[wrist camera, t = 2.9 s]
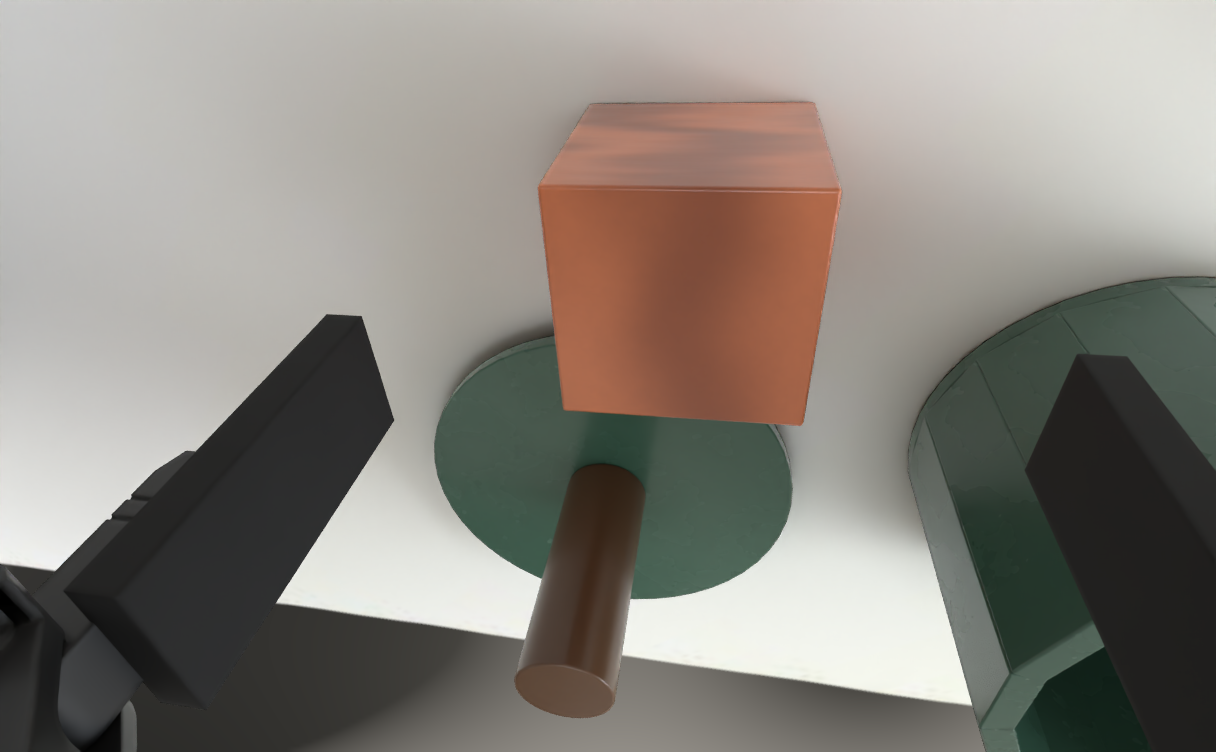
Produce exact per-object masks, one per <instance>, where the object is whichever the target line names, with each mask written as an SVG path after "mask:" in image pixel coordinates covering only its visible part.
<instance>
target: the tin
mask: <svg viewBox="0 0 1216 752" xmlns="http://www.w3.org/2000/svg"><path fill="white" fill-rule="evenodd" d="M1077 354H1093V355H1112V356H1127V357H1128V358H1129V359H1130V361H1131V362H1132V363H1133V364H1134V366H1135V367H1136V368H1137V370H1138V371H1139V372H1140V373H1141V375H1142V376H1143V377H1144V379H1145V380H1146V381H1147V382H1148V384H1149V385H1150V386H1151V388H1152V389H1153V390H1154V392H1155V393H1156V394H1157V395H1158V397H1159V398H1160V399H1161V401H1162V402H1163V403H1164V404H1165V406H1166V407H1167V408H1168V410H1169V411H1170V412H1171V414H1172V415H1173V416H1174V417H1175V419H1176V420H1177V421H1178V423H1179V424H1180V425H1181V426H1182V428H1183V429H1184V430H1185V432H1186V433H1187V434H1188V435H1189V437H1190V438H1191V439H1192V441H1193V442H1194V443H1195V445H1196V446H1197V447H1198V448H1199V450H1200V451H1201V452H1202V454H1203V455H1204V456H1205V457H1206V459H1207V460H1208V461H1209V463H1210V464H1211V465H1212V466H1213V468H1214V469H1215V470H1216V278H1208V277H1188V278H1165V279H1156V280H1148V281H1139V282H1133V283H1128V284H1123V285H1119V286H1114V287H1109V288H1105V289H1100V290H1097V291H1094V292H1091V293H1087V294H1084V295H1081V296H1077V297H1074V298H1071V299H1068V300H1065V301H1063V302H1061V303H1058V304H1056V305H1053V306H1051V307H1048V308H1046V309H1043V310H1041V311H1038V312H1036V313H1034V314H1032V315H1030V316H1028V317H1027V318H1025V319H1023V320H1021V321H1019V322H1017V323H1015V324H1013V325H1011V326H1009V327H1008V328H1006V329H1004V330H1003V331H1001V332H1000V333H998V334H997V335H995V336H994V337H992V338H990V339H989V340H987V341H986V342H984V343H983V344H982V345H980V346H979V347H978V348H977V349H975V350H974V351H973V352H972V353H970V354H969V355H968V356H967V357H965V358H964V359H963V360H962V361H961V362H960V363H959V364H958V365H957V366H956V367H955V368H954V369H953V370H952V371H951V372H950V373H949V374H948V375H947V376H946V377H945V378H944V379H943V380H942V381H941V383H940V384H939V385H938V387H937V388H936V389H935V390H934V392H933V393H932V394H931V395H930V397H929V399H928V400H927V402H926V404H925V406H924V407H923V409H922V411H921V412H920V414H919V417H918V419H917V422H916V424H915V427H914V429H913V432H912V436H911V441H910V446H909V460H908V467H909V468H908V474H909V477H910V481H911V484H912V488H913V492H914V495H915V499H916V503H917V506H918V510H919V513H920V517H921V521H922V524H923V528H924V532H925V535H926V539H927V542H928V546H929V550H930V553H931V557H932V561H933V564H934V568H935V571H936V575H937V579H938V582H939V586H940V590H941V593H942V597H943V600H944V604H945V608H946V611H947V615H948V619H949V622H950V626H951V629H952V633H953V637H954V640H955V644H956V648H957V651H958V655H959V658H960V662H961V666H962V669H963V673H964V677H965V680H966V684H967V687H968V691H969V695H970V698H971V702H972V706H973V709H974V713H975V716H976V720H977V723H978V727H979V731H980V734H981V737H982V741H983V744H984V748H985V751H986V752H1152V749H1151V747H1150V745H1149V743H1148V741H1147V738H1146V736H1145V734H1144V732H1143V730H1142V727H1141V725H1140V723H1139V721H1138V719H1137V716H1136V714H1135V712H1134V710H1133V708H1132V705H1131V703H1130V701H1129V699H1128V697H1127V694H1126V692H1125V690H1124V688H1123V686H1122V683H1121V681H1120V679H1119V677H1118V675H1117V673H1116V670H1115V668H1114V666H1113V664H1112V662H1111V659H1110V657H1109V655H1108V653H1107V651H1106V648H1105V646H1104V644H1103V642H1102V640H1101V637H1100V635H1099V633H1098V631H1097V629H1096V626H1095V624H1094V622H1093V620H1092V618H1091V615H1090V613H1089V611H1088V609H1087V607H1086V604H1085V602H1084V600H1083V598H1082V596H1081V593H1080V591H1079V589H1078V587H1077V585H1076V583H1075V580H1074V578H1073V576H1072V574H1071V572H1070V569H1069V567H1068V565H1067V563H1066V561H1065V558H1064V556H1063V554H1062V552H1061V550H1060V547H1059V545H1058V543H1057V541H1056V539H1055V536H1054V534H1053V532H1052V530H1051V528H1050V525H1049V523H1048V521H1047V519H1046V517H1045V514H1044V512H1043V510H1042V508H1041V506H1040V503H1039V501H1038V499H1037V497H1036V495H1035V493H1034V490H1033V488H1032V486H1031V484H1030V482H1029V479H1028V477H1027V475H1026V473H1025V471H1024V470H1025V468H1026V466H1027V463H1028V461H1029V459H1030V457H1031V454H1032V452H1033V450H1034V448H1035V446H1036V443H1037V441H1038V439H1039V437H1040V435H1041V432H1042V430H1043V428H1044V426H1045V424H1046V421H1047V419H1048V417H1049V415H1050V412H1051V410H1052V408H1053V406H1054V404H1055V401H1056V399H1057V397H1058V395H1059V393H1060V390H1061V388H1062V386H1063V384H1064V381H1065V379H1066V377H1067V375H1068V373H1069V370H1070V368H1071V366H1072V364H1073V362H1074V359H1075V357H1076V355H1077Z"/></svg>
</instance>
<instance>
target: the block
mask: <svg viewBox="0 0 1216 752" xmlns="http://www.w3.org/2000/svg"><path fill="white" fill-rule="evenodd" d="M538 196H539V205H540V214H541V222H542V231H543V240H544V248H545V257H546V266H547V274H548V283H549V292H550V300H551V309H552V318H553V326H554V335H555V344H556V352H557V361H558V370H559V378H560V387H561V396H562V404H563V409H564V410H566V411H580V412H595V413H611V414H626V415H641V416H656V417H672V418H687V419H702V420H718V421H733V422H748V423H764V424H779V425H794V426H801V425H802V424H803V422H804V416H805V411H806V405H807V399H808V393H809V387H810V381H811V375H812V369H813V363H814V357H815V351H816V345H817V339H818V333H819V327H820V321H821V316H822V310H823V304H824V298H825V292H826V286H827V280H828V274H829V268H830V262H831V256H832V250H833V244H834V238H835V232H836V226H837V221H838V215H839V209H840V203H841V197H842V189H841V186H840V183H839V180H838V176H837V173H836V170H835V167H834V164H833V160H832V157H831V154H830V151H829V147H828V144H827V141H826V138H825V135H824V131H823V128H822V125H821V122H820V119H819V115H818V112H817V109H816V106H815V103H813V102H787V103H641V104H590V105H589V106H588V108H587V109H586V111H585V112H584V114H583V116H582V117H581V119H580V120H579V122H578V123H577V125H576V127H575V128H574V130H573V131H572V133H571V134H570V136H569V138H568V139H567V141H566V142H565V144H564V146H563V147H562V149H561V150H560V152H559V153H558V155H557V157H556V158H555V160H554V161H553V163H552V164H551V166H550V168H549V169H548V171H547V172H546V174H545V176H544V177H543V179H542V180H541V182H540V183H539V185H538Z"/></svg>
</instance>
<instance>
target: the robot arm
mask: <svg viewBox="0 0 1216 752" xmlns="http://www.w3.org/2000/svg"><path fill="white" fill-rule="evenodd" d="M393 422H394V418H393V415H392V412H391V408H390V405H389V402H388V399H387V396H386V392H385V389H384V386H383V383H382V380H381V376H380V373H379V370H378V367H377V364H376V360H375V357H374V354H373V351H372V348H371V344H370V341H369V338H368V335H367V332H366V328H365V325H364V322H363V319H362V316H349V315H329V314H327V315H326V316H325V317H324V318H323V319H322V320H321V321H320V322H319V323H318V324H317V325H316V326H315V327H314V328H313V329H312V330H311V332H310V333H309V334H308V335H307V336H306V337H305V338H304V339H303V340H302V341H301V342H300V343H299V344H298V345H297V346H296V347H295V348H294V349H293V350H292V351H291V352H290V354H289V355H288V356H287V357H286V358H285V359H284V360H283V361H282V362H281V363H280V364H279V365H278V366H277V367H276V368H275V369H274V370H273V371H272V372H271V373H270V374H269V375H268V377H267V378H266V379H265V380H264V381H263V382H262V383H261V384H260V385H259V386H258V387H257V388H256V389H255V390H254V391H253V392H252V393H251V394H250V395H249V396H248V397H247V399H246V400H245V401H244V402H243V403H242V404H241V405H240V406H239V407H238V408H237V409H236V410H235V411H234V412H233V413H232V414H231V415H230V416H229V417H228V418H227V419H226V420H225V422H224V423H223V424H222V425H221V426H220V427H219V428H218V429H217V430H216V431H215V432H214V433H213V434H212V435H211V436H210V437H209V438H208V439H207V440H206V441H205V442H204V444H203V445H202V446H201V447H200V448H199V449H198V450H197V451H196V452H195V451H185V452H184V453H182V454H180V455H179V456H177V457H176V458H174V459H173V460H171V461H169V462H168V463H166V464H165V465H163V466H162V467H160V468H159V469H157V470H155V471H154V472H153V473H152V474H151V475H150V476H149V477H148V478H147V479H146V480H145V481H144V482H143V483H142V484H141V485H140V486H139V487H138V488H137V489H136V490H135V491H134V492H133V493H132V494H131V496H132V497H131V499H130V500H125V502H124V503H123V504H122V505H121V506H120V507H119V508H118V509H117V510H116V511H115V512H114V513H113V514H112V518H111V519H110V520H106V521H105V522H104V523H103V524H102V525H101V526H100V527H99V528H98V529H97V530H96V531H95V532H94V533H93V534H92V535H91V536H90V537H89V538H88V539H87V540H86V541H85V542H84V543H83V544H82V545H81V546H80V547H79V548H78V549H77V550H76V551H75V552H74V553H73V554H72V555H71V556H70V557H69V558H68V559H67V560H66V561H65V562H64V563H63V564H62V565H61V566H60V567H59V568H58V569H57V570H56V571H55V572H54V573H53V574H52V575H51V576H50V577H49V578H48V579H47V580H46V581H45V582H44V583H43V584H42V585H41V586H40V587H39V588H38V589H37V590H36V591H35V592H34V593H33V594H32V595H31V594H30V593H29V592H28V591H27V590H26V589H25V588H24V587H23V586H22V585H21V584H20V582H19V581H18V580H17V579H16V578H15V577H14V576H13V575H12V574H11V573H10V572H9V571H8V569H7V568H6V567H4V566H3V565H1V564H0V752H137V727H136V713H135V710H134V707H133V704H132V703H131V702H130V701H129V699H130V698H131V697H132V695H133V694H134V693H135V691H136V690H137V689H138V687H139V686H140V684H141V683H142V682H143V683H144V684H145V685H146V686H147V687H148V688H149V690H150V691H151V692H152V693H153V694H154V695H155V697H156V698H157V699H158V700H159V701H160V702H161V703H166V704H172V705H178V706H184V707H190V708H196V709H203V710H207V708H208V707H209V705H210V703H211V702H212V700H213V699H214V697H215V696H216V694H217V693H218V691H219V690H220V688H221V687H222V685H223V683H224V682H225V680H226V679H227V677H228V676H229V674H230V673H231V671H232V670H233V668H234V667H235V665H236V663H237V662H238V660H239V659H240V657H241V656H242V654H243V652H244V651H245V650H246V648H247V646H248V645H249V643H250V642H251V640H252V639H253V637H254V635H255V634H256V632H257V631H258V630H259V628H260V626H261V625H262V623H263V622H264V620H265V619H266V617H267V616H268V614H269V613H270V611H271V609H272V608H273V606H274V605H275V603H276V602H277V600H278V599H279V597H280V596H281V594H282V593H283V591H284V589H285V588H286V586H287V585H288V583H289V582H290V580H291V579H292V577H293V576H294V574H295V573H296V571H297V569H298V568H299V566H300V565H301V563H302V562H303V560H304V559H305V557H306V556H307V554H308V552H309V551H310V549H311V548H312V546H313V545H314V543H315V542H316V540H317V539H318V537H319V536H320V534H321V532H322V531H323V529H324V528H325V526H326V525H327V523H328V522H329V520H330V519H331V517H332V516H333V514H334V512H335V511H336V509H337V508H338V506H339V505H340V503H341V502H342V500H343V499H344V497H345V495H346V494H347V492H348V491H349V489H350V488H351V486H352V485H353V483H354V482H355V480H356V479H357V477H358V475H359V474H360V472H361V471H362V469H363V468H364V466H365V465H366V463H367V462H368V460H369V458H370V457H371V455H372V454H373V452H374V451H375V449H376V448H377V446H378V445H379V443H380V442H381V440H382V438H383V437H384V435H385V434H386V432H387V431H388V429H389V428H390V426H391V425H392V423H393ZM1024 471H1025V473H1026V475H1027V477H1028V479H1029V482H1030V484H1031V486H1032V488H1033V490H1034V493H1035V495H1036V497H1037V499H1038V501H1039V503H1040V506H1041V508H1042V510H1043V512H1044V514H1045V517H1046V519H1047V521H1048V523H1049V525H1050V528H1051V530H1052V532H1053V534H1054V536H1055V539H1056V541H1057V543H1058V545H1059V547H1060V550H1061V552H1062V554H1063V556H1064V558H1065V561H1066V563H1067V565H1068V567H1069V569H1070V572H1071V574H1072V576H1073V578H1074V580H1075V583H1076V585H1077V587H1078V589H1079V591H1080V593H1081V596H1082V598H1083V600H1084V602H1085V604H1086V607H1087V609H1088V611H1089V613H1090V615H1091V618H1092V620H1093V622H1094V624H1095V626H1096V629H1097V631H1098V633H1099V635H1100V637H1101V640H1102V642H1103V644H1104V646H1105V648H1106V651H1107V653H1108V655H1109V657H1110V659H1111V662H1112V664H1113V666H1114V668H1115V670H1116V673H1117V675H1118V677H1119V679H1120V681H1121V683H1122V686H1123V688H1124V690H1125V692H1126V694H1127V697H1128V699H1129V701H1130V703H1131V705H1132V708H1133V710H1134V712H1135V714H1136V716H1137V719H1138V721H1139V723H1140V725H1141V727H1142V730H1143V732H1144V734H1145V736H1146V738H1147V741H1148V743H1149V745H1150V747H1151V749H1152V752H1216V470H1215V469H1214V468H1213V466H1212V465H1211V464H1210V463H1209V461H1208V460H1207V459H1206V457H1205V456H1204V455H1203V454H1202V452H1201V451H1200V450H1199V448H1198V447H1197V446H1196V445H1195V443H1194V442H1193V441H1192V439H1191V438H1190V437H1189V435H1188V434H1187V433H1186V432H1185V430H1184V429H1183V428H1182V426H1181V425H1180V424H1179V423H1178V421H1177V420H1176V419H1175V417H1174V416H1173V415H1172V414H1171V412H1170V411H1169V410H1168V408H1167V407H1166V406H1165V404H1164V403H1163V402H1162V401H1161V399H1160V398H1159V397H1158V395H1157V394H1156V393H1155V392H1154V390H1153V389H1152V388H1151V386H1150V385H1149V384H1148V382H1147V381H1146V380H1145V379H1144V377H1143V376H1142V375H1141V373H1140V372H1139V371H1138V370H1137V368H1136V367H1135V366H1134V364H1133V363H1132V362H1131V361H1130V359H1129V358H1128V357H1127V356H1112V355H1093V354H1077V355H1076V357H1075V359H1074V362H1073V364H1072V366H1071V368H1070V370H1069V373H1068V375H1067V377H1066V379H1065V381H1064V384H1063V386H1062V388H1061V390H1060V393H1059V395H1058V397H1057V399H1056V401H1055V404H1054V406H1053V408H1052V410H1051V412H1050V415H1049V417H1048V419H1047V421H1046V424H1045V426H1044V428H1043V430H1042V432H1041V435H1040V437H1039V439H1038V441H1037V443H1036V446H1035V448H1034V450H1033V452H1032V454H1031V457H1030V459H1029V461H1028V463H1027V466H1026V468H1025V470H1024Z"/></svg>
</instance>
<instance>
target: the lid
mask: <svg viewBox="0 0 1216 752" xmlns="http://www.w3.org/2000/svg"><path fill="white" fill-rule="evenodd" d="M434 452H435V464H436V469H437V475H438V478H439V481H440V484H441V486H442V489H443V492H444V494H445V496H446V497H447V499H448V501H449V503H450V505H451V507H452V508H453V510H454V511H455V512H456V514H457V515H458V517H459V518H460V519H461V521H462V522H463V523H464V524H465V525H466V526H467V527H468V529H469V530H470V531H471V532H472V533H473V534H474V535H475V536H476V537H477V538H478V539H479V540H481V541H482V542H483V543H484V544H485V545H486V546H487V547H489V548H490V549H491V550H493V551H494V552H495V553H497V554H498V555H499V556H501V557H502V558H504V559H505V560H507V561H509V562H510V563H512V564H514V565H515V566H517V567H519V568H520V569H522V570H524V571H526V572H528V573H530V574H532V575H534V576H537V577H539V578H541V579H542V581H541V585H540V588H539V592H538V595H537V599H536V603H535V606H534V610H533V613H532V617H531V620H530V624H529V628H528V631H527V635H526V638H525V642H524V646H523V649H522V653H521V656H520V660H519V664H518V667H517V671H516V674H515V679H514V682H515V687H516V690H517V691H518V693H519V694H520V695H521V696H522V697H523V698H524V699H525V700H526V701H527V702H529V703H530V704H532V705H533V706H535V707H537V708H539V709H541V710H543V711H546V712H549V713H552V714H555V715H559V716H564V717H571V718H590V717H595V716H599V715H602V714H604V713H606V712H607V711H609V710H610V709H611V707H612V706H613V704H614V702H615V697H616V690H617V684H618V677H619V670H620V664H621V657H622V650H623V644H624V637H625V631H626V624H627V617H628V611H629V604H630V599H657V598H667V597H676V596H681V595H686V594H692V593H695V592H699V591H702V590H706V589H709V588H712V587H715V586H717V585H719V584H722V583H724V582H727V581H729V580H731V579H732V578H734V577H736V576H738V575H740V574H742V573H743V572H745V571H746V570H747V569H749V568H750V567H751V566H753V565H754V564H756V563H757V562H758V561H759V560H760V559H761V558H762V557H763V556H764V555H765V554H766V553H767V552H768V551H769V550H770V549H771V547H772V546H773V545H774V543H775V542H776V540H777V539H778V538H779V536H780V534H781V532H782V530H783V528H784V526H785V524H786V522H787V519H788V515H789V511H790V508H791V501H792V477H791V469H790V461H789V458H788V455H787V451H786V448H785V445H784V442H783V440H782V438H781V436H780V434H779V433H778V431H777V429H776V427H775V425H774V424H764V423H748V422H733V421H718V420H702V419H687V418H672V417H656V416H641V415H626V414H611V413H595V412H580V411H566V410H564V409H563V404H562V396H561V387H560V378H559V370H558V361H557V352H556V344H555V336H550V337H545V338H541V339H537V340H533V341H529V342H525V343H522V344H520V345H517V346H515V347H512V348H510V349H507V350H505V351H502V352H501V353H499V354H497V355H495V356H494V357H492V358H490V359H488V360H487V361H485V362H483V363H482V364H481V365H480V366H478V367H477V368H476V369H475V370H473V371H472V372H471V373H470V374H468V376H467V377H466V378H465V379H464V380H463V381H462V382H461V383H460V385H459V386H458V387H457V388H456V389H455V391H454V393H453V394H452V396H451V398H450V399H449V401H448V403H447V404H446V406H445V408H444V410H443V412H442V415H441V417H440V420H439V423H438V426H437V430H436V436H435V442H434Z"/></svg>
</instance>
